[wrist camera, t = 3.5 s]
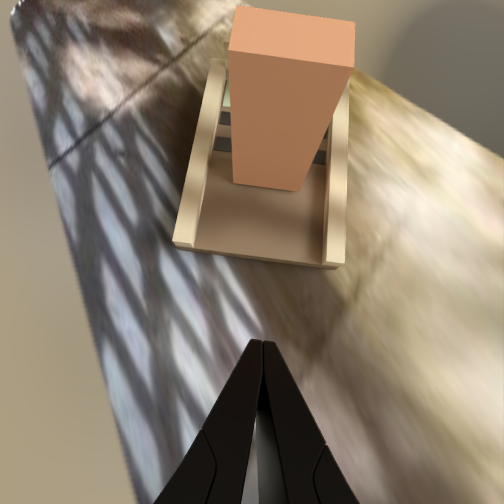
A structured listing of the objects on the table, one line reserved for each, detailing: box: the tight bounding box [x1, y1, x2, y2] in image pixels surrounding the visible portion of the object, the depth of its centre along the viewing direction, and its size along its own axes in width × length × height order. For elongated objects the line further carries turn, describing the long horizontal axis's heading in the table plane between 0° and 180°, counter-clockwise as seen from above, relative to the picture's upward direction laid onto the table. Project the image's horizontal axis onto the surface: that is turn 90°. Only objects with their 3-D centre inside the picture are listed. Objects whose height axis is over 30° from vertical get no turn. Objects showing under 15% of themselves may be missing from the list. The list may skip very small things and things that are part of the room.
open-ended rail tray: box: [172, 34, 350, 270], centre depth 24 cm, size 20×14×5 cm
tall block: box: [228, 5, 355, 192], centre depth 19 cm, size 3×6×12 cm, turn 83°
